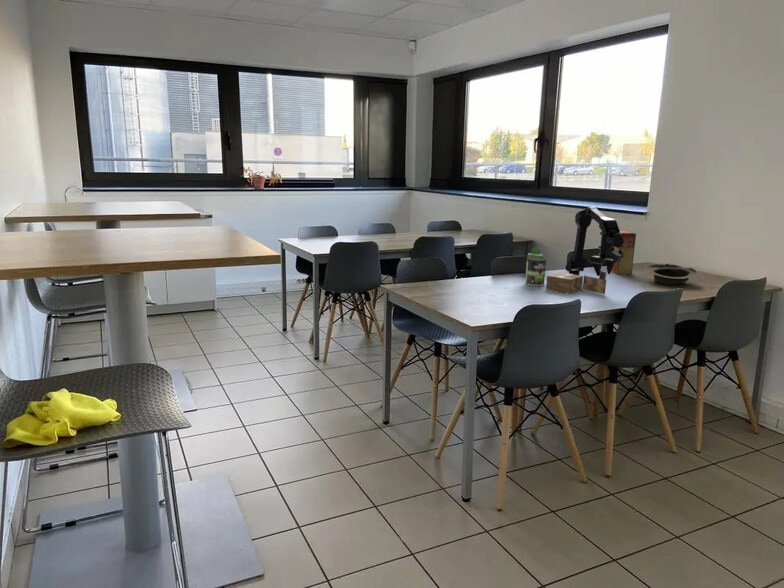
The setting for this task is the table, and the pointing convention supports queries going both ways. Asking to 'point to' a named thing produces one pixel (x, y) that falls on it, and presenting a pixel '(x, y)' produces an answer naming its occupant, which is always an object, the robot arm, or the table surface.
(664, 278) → the stone bowl
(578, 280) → the carton
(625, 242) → the food packaging
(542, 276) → the coffee can
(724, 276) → the table surface
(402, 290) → the table surface
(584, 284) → the side flap
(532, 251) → the chalk box
